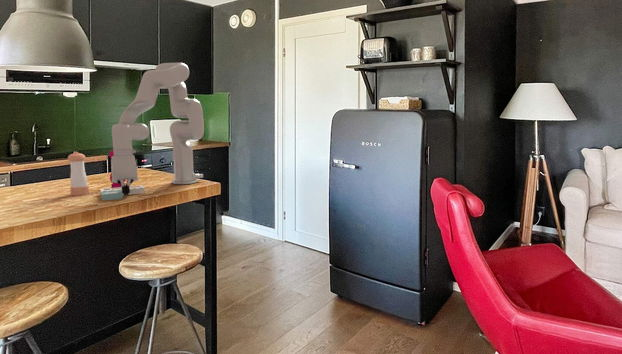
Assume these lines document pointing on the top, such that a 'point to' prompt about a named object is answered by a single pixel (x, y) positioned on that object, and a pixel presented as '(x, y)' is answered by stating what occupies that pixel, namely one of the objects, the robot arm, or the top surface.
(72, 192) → the pepper shaker
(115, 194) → the stub
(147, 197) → the top surface
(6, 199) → the top surface
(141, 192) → the ticket
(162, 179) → the top surface
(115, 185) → the pepper mill
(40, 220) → the top surface
